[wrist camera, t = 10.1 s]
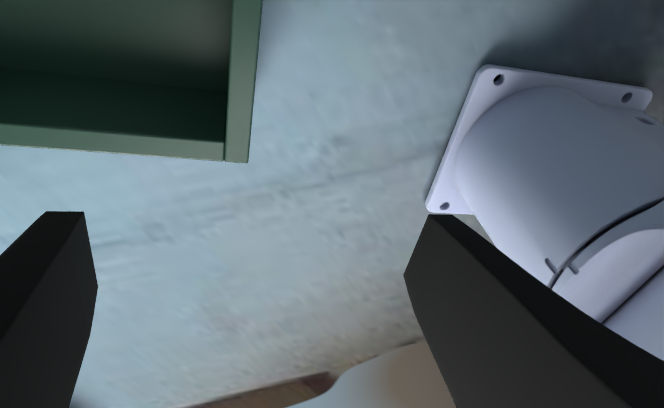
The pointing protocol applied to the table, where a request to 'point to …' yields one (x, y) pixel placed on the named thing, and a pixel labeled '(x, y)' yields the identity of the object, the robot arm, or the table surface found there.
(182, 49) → the tote
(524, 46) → the table surface
